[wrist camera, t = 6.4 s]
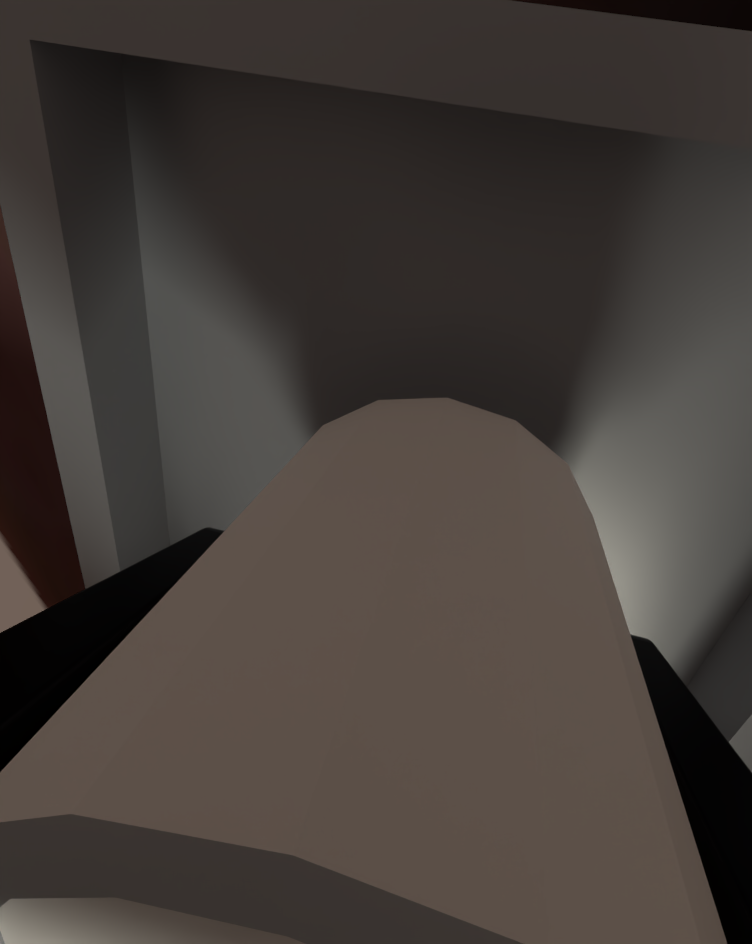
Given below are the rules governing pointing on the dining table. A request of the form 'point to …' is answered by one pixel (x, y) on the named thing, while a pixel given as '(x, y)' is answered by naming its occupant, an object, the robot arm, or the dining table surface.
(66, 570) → the dining table surface
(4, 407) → the dining table surface
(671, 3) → the dining table surface
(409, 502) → the white cup
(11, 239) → the tray
